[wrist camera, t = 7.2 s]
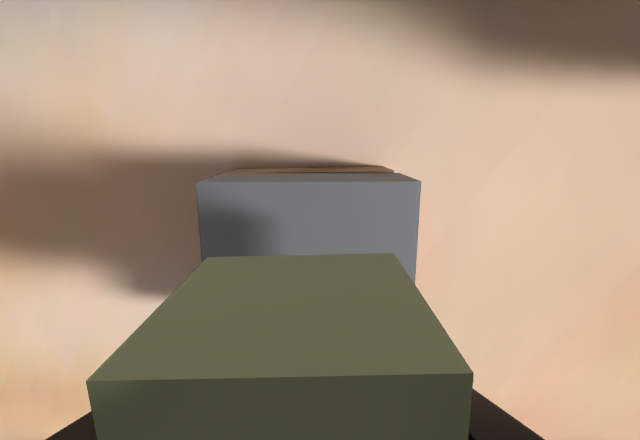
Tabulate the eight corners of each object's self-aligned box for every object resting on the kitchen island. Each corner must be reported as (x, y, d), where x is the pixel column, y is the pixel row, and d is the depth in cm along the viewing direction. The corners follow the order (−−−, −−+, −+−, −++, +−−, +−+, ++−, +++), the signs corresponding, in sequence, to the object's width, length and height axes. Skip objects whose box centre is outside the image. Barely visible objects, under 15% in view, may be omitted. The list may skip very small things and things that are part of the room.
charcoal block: (399, 173, 16) (420, 181, 12) (391, 332, 18) (408, 378, 14) (222, 173, 16) (195, 181, 12) (232, 333, 18) (211, 379, 14)
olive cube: (393, 252, 9) (473, 373, 4) (390, 412, 10) (451, 650, 6) (207, 257, 9) (86, 381, 5) (223, 416, 10) (138, 653, 6)
